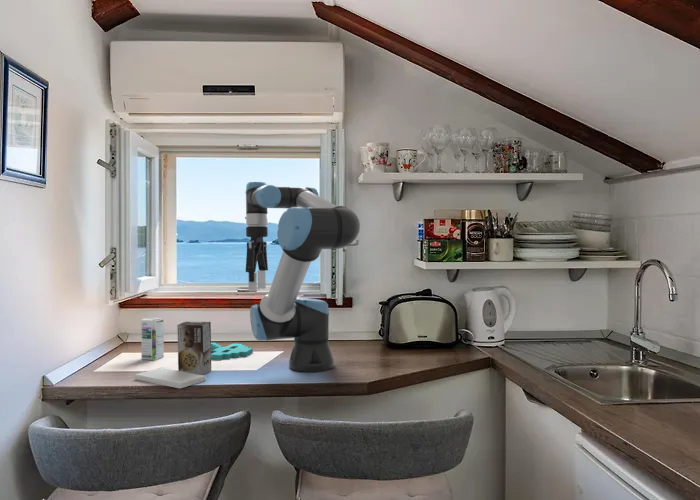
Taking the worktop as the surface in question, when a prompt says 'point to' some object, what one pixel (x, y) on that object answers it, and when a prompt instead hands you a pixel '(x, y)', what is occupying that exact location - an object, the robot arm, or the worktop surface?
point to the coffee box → (194, 347)
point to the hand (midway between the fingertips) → (257, 289)
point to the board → (170, 377)
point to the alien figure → (229, 351)
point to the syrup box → (152, 338)
